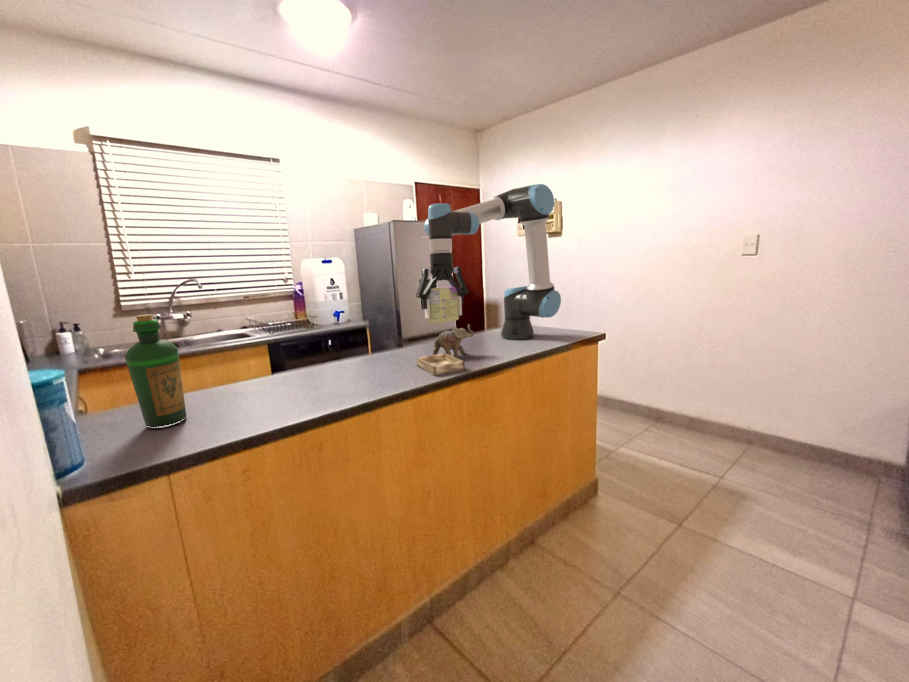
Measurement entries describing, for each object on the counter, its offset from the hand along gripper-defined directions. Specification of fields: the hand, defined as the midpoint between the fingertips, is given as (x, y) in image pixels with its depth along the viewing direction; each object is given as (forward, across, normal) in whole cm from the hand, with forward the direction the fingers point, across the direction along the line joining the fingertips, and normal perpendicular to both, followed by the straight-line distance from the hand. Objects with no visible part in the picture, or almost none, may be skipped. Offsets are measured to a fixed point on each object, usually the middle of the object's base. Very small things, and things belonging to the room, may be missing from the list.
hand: (443, 316), depth 138 cm
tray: (+18, +2, 0) cm, 18 cm away
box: (+2, 0, 0) cm, 2 cm away
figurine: (+18, -9, -11) cm, 23 cm away
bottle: (+19, +82, +3) cm, 84 cm away
